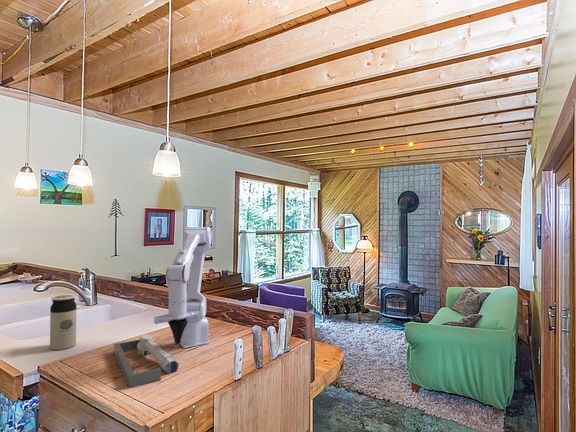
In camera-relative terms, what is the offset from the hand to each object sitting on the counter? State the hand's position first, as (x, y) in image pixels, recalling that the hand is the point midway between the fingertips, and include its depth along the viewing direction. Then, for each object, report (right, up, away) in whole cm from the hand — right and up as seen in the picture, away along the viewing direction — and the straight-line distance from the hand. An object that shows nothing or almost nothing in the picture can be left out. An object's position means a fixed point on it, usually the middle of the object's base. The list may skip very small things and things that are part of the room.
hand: (177, 342), depth 117 cm
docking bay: (-12, -5, -5) cm, 14 cm away
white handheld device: (-6, -6, -2) cm, 9 cm away
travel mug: (-45, -6, +12) cm, 47 cm away
